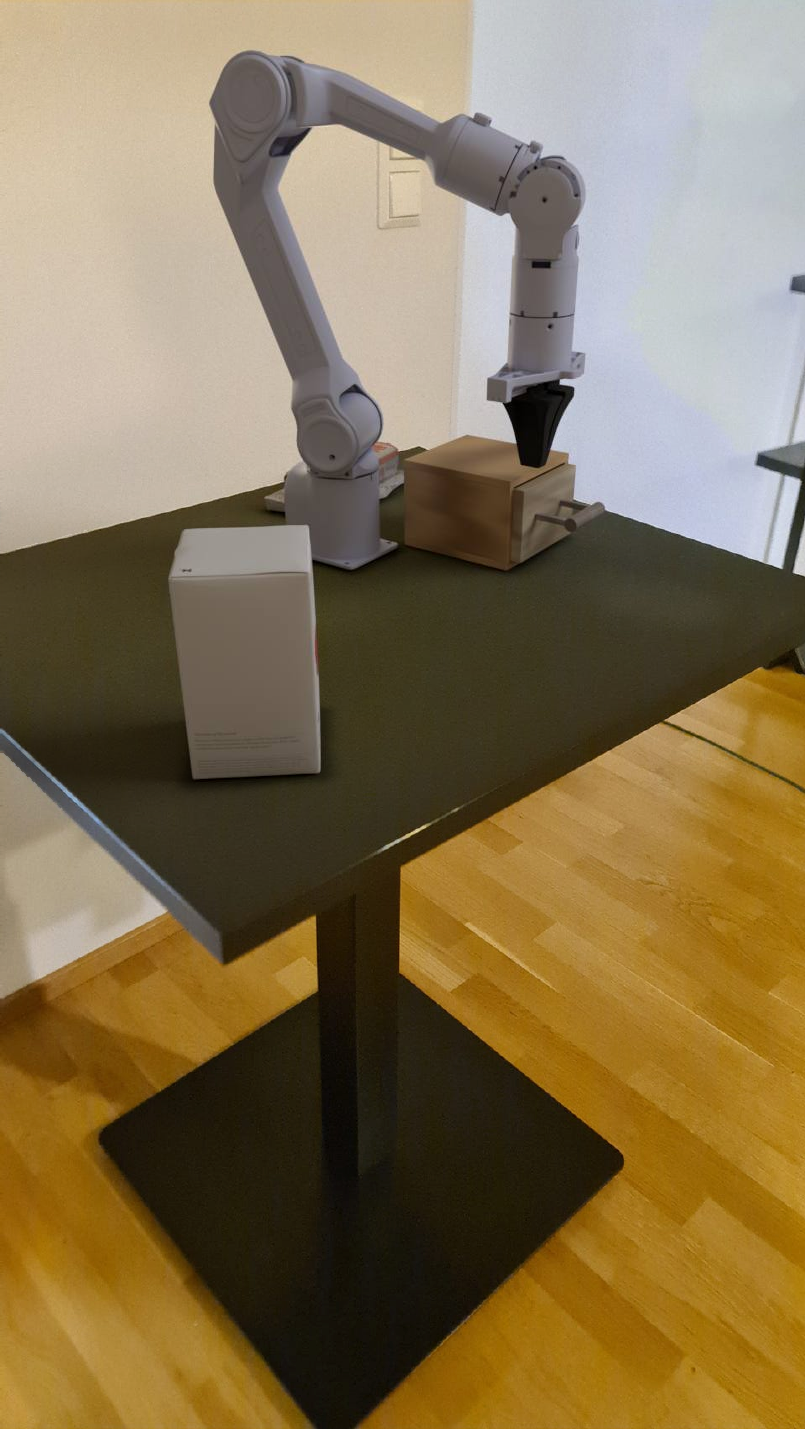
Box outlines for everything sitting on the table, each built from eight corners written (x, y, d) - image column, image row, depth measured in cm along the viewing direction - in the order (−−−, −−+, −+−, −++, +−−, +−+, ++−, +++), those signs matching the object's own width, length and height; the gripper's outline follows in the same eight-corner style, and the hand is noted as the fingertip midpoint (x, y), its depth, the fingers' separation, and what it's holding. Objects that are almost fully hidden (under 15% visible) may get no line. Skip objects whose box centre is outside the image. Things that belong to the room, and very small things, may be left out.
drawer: (611, 542, 105) (618, 473, 102) (562, 574, 98) (568, 500, 95) (479, 512, 114) (481, 447, 110) (425, 539, 107) (425, 470, 103)
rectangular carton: (323, 776, 70) (312, 571, 62) (191, 783, 69) (163, 577, 62) (321, 710, 78) (311, 521, 70) (202, 715, 77) (179, 526, 70)
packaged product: (345, 432, 129) (414, 442, 124) (346, 470, 131) (414, 481, 127) (260, 470, 115) (335, 482, 111) (263, 511, 117) (337, 525, 113)
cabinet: (563, 537, 109) (569, 453, 105) (506, 571, 101) (510, 481, 97) (464, 514, 116) (466, 434, 111) (404, 544, 108) (403, 459, 103)
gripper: (541, 329, 83) (531, 492, 90) (619, 306, 93) (605, 454, 100) (468, 321, 87) (464, 478, 93) (551, 299, 97) (542, 442, 104)
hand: (532, 465), depth 97 cm, fingers closed
